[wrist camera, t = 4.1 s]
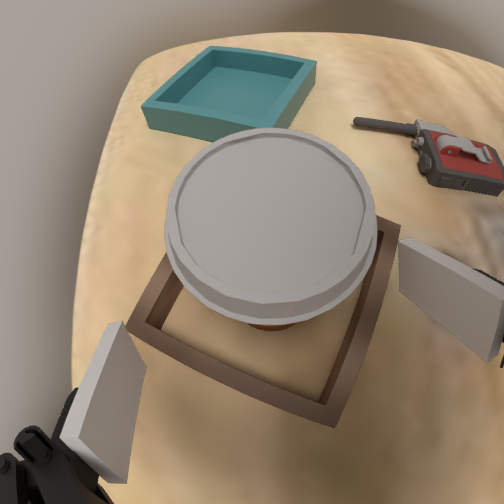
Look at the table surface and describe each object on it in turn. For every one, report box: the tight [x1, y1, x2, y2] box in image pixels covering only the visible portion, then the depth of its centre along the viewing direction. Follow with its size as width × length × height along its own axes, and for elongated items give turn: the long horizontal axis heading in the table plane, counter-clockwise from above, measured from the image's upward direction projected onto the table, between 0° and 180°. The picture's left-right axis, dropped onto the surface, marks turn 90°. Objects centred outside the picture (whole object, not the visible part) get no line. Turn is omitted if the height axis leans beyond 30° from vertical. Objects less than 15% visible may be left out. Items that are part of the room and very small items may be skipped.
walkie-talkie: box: [353, 117, 504, 196], centre depth 26 cm, size 9×4×20 cm
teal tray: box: [141, 46, 317, 142], centre depth 31 cm, size 15×15×4 cm
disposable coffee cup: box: [164, 128, 377, 331], centre depth 17 cm, size 10×10×12 cm
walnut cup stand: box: [125, 215, 401, 428], centre depth 21 cm, size 15×15×3 cm
